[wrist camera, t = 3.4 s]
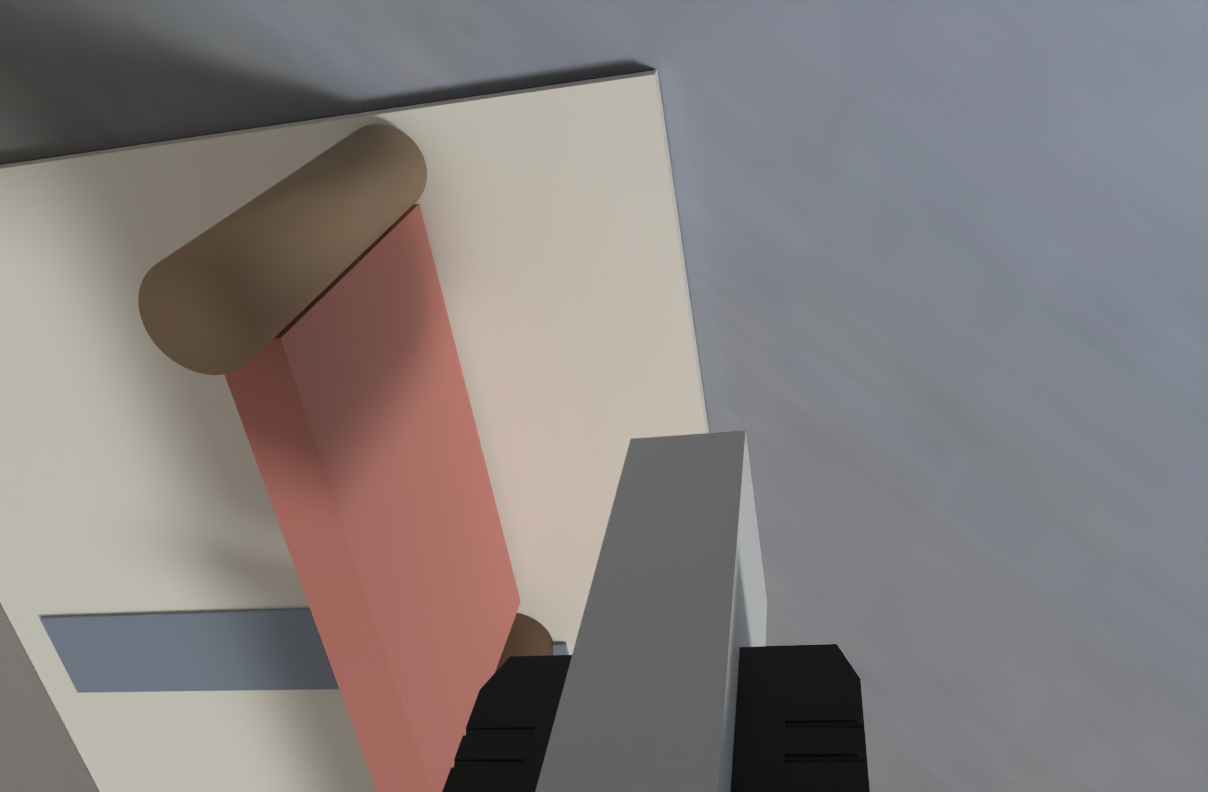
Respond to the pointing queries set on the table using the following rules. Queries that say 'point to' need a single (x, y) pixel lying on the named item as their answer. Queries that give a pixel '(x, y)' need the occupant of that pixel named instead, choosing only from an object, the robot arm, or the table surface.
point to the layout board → (222, 450)
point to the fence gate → (357, 436)
